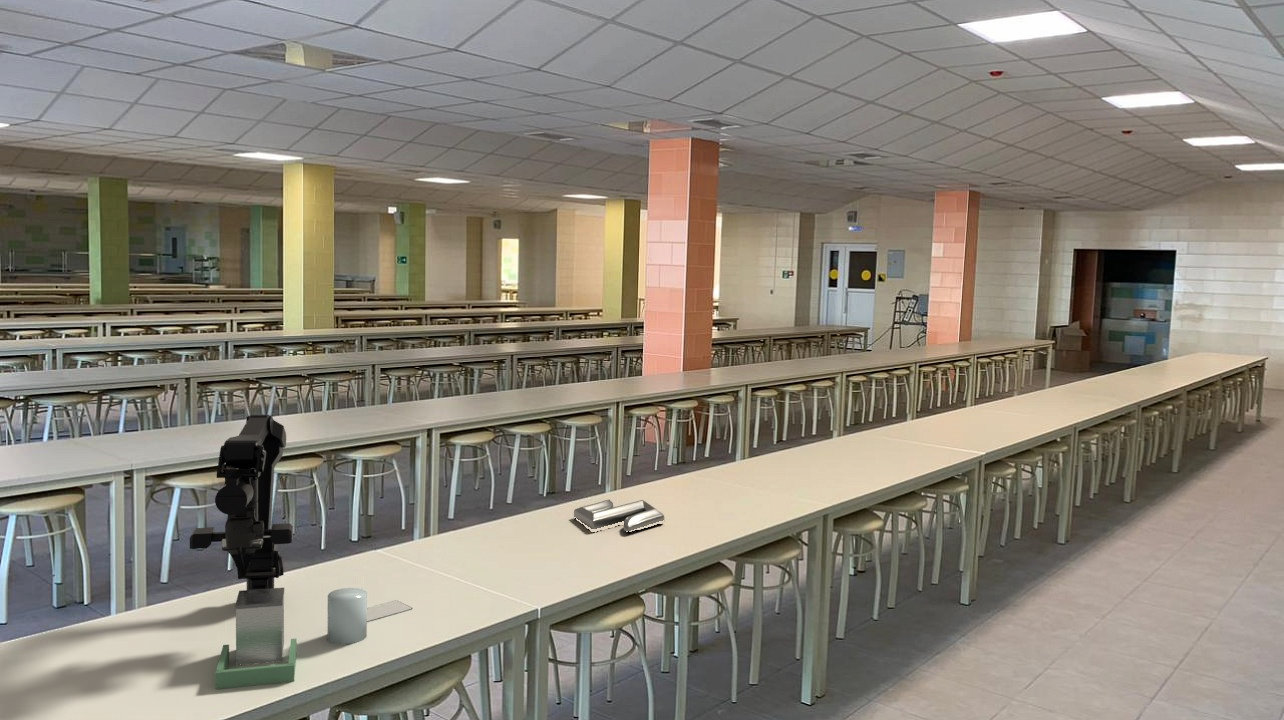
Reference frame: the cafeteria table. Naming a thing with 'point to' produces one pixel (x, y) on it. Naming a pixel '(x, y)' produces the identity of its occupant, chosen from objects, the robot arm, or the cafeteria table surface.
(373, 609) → the smartphone
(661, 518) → the emblem
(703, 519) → the cafeteria table surface
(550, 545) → the cafeteria table surface
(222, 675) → the bay
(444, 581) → the cafeteria table surface
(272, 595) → the tin
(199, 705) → the cafeteria table surface
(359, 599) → the round-topped grey cylinder
